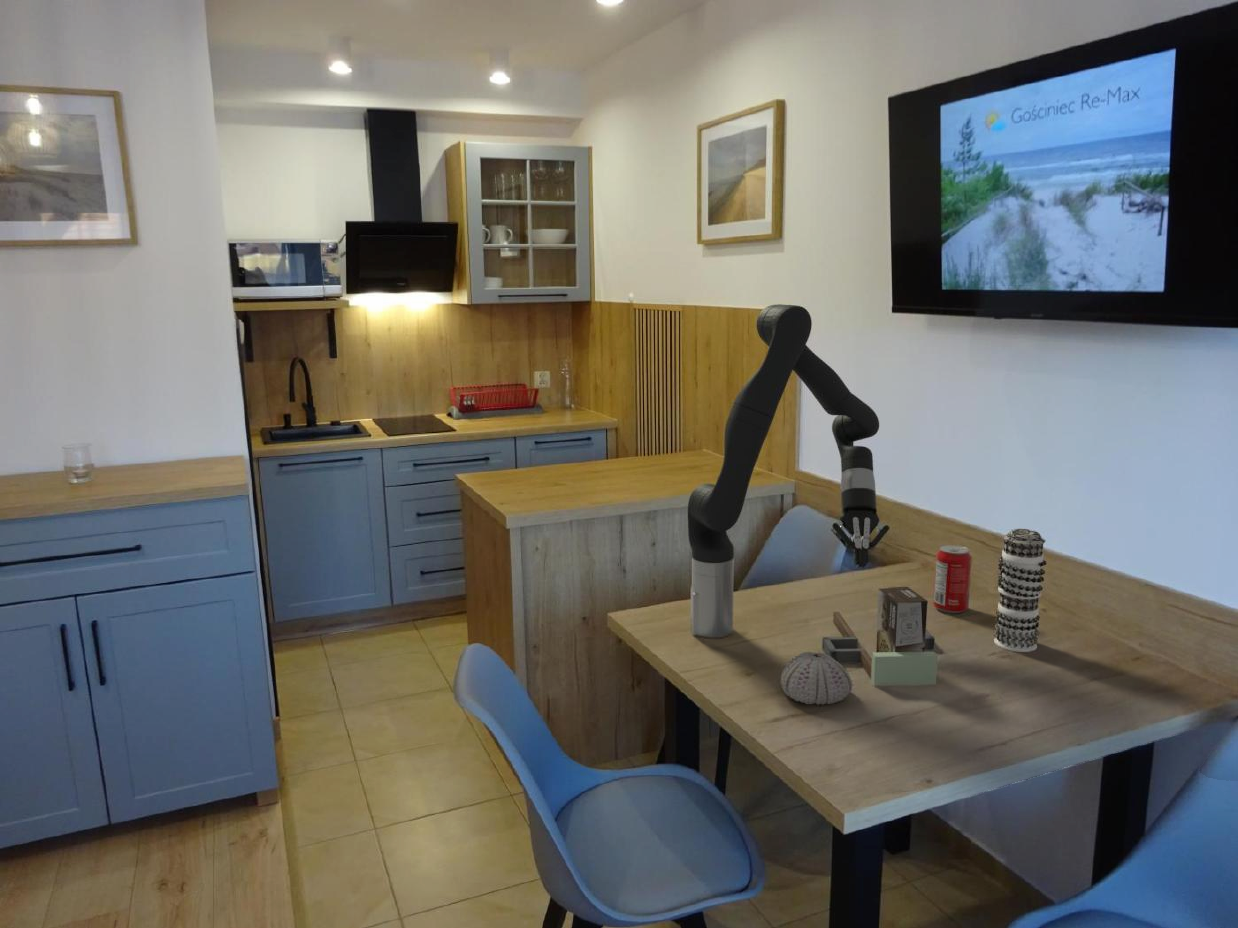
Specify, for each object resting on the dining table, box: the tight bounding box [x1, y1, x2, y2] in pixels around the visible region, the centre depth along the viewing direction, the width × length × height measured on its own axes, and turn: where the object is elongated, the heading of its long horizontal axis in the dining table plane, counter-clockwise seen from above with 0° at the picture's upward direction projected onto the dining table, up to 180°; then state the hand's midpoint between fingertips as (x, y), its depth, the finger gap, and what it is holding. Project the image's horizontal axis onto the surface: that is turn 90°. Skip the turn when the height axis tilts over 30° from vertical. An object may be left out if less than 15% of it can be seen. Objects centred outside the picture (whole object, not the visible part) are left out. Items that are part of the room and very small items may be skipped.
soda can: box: [932, 544, 973, 615], centre depth 208 cm, size 8×8×15 cm
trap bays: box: [821, 628, 935, 664], centre depth 187 cm, size 23×13×2 cm, turn 90°
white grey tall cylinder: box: [993, 528, 1047, 653], centre depth 187 cm, size 9×9×25 cm
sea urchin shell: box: [780, 651, 854, 706], centre depth 167 cm, size 13×14×8 cm
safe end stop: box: [870, 651, 938, 687], centre depth 171 cm, size 12×2×6 cm, turn 90°
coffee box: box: [875, 586, 928, 652], centre depth 176 cm, size 9×6×16 cm
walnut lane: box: [832, 611, 872, 679], centre depth 187 cm, size 11×32×2 cm, turn 1°
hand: (861, 566), depth 192 cm, fingers closed
